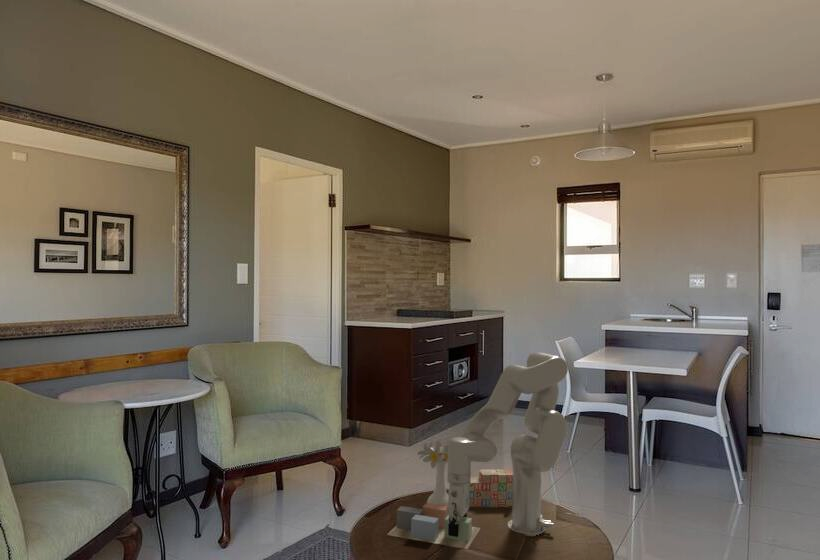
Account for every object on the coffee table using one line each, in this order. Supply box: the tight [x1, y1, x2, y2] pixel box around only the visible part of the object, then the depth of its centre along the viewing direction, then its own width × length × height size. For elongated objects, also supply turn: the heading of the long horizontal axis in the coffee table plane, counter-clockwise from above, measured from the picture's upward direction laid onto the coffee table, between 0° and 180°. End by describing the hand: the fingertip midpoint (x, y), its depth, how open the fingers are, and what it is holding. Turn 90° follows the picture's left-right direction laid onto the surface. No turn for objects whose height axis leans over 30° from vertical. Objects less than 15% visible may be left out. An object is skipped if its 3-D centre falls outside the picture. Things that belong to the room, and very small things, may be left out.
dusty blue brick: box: [411, 515, 439, 542], centre depth 193 cm, size 8×4×6 cm, turn 70°
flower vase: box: [417, 440, 449, 506], centre depth 216 cm, size 13×18×25 cm
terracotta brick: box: [422, 502, 449, 528], centre depth 203 cm, size 8×4×6 cm, turn 70°
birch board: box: [386, 524, 481, 550], centre depth 197 cm, size 27×17×1 cm, turn 70°
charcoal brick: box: [396, 505, 423, 530], centre depth 200 cm, size 8×4×6 cm, turn 70°
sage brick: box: [444, 515, 473, 542], centre depth 193 cm, size 8×4×6 cm, turn 70°
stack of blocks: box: [469, 468, 513, 508], centre depth 225 cm, size 21×6×12 cm, turn 93°
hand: (457, 530), depth 193 cm, fingers open, 9 cm apart
